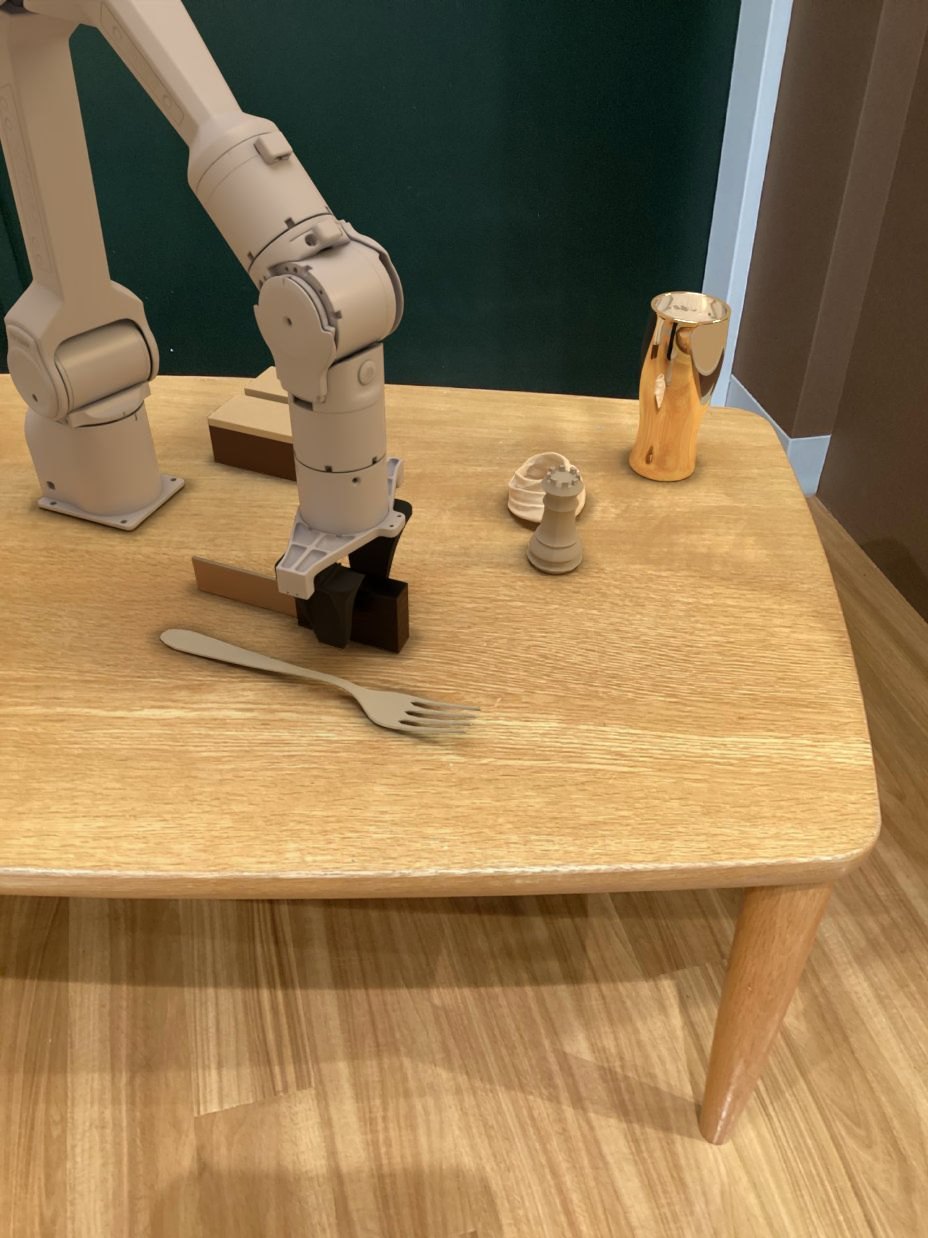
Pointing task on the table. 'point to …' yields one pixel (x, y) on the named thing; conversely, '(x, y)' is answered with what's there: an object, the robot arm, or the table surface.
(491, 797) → the table surface
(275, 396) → the cake slice
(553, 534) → the rook chess piece
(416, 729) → the fork
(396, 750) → the table surface
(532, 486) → the white ruffled curved piece
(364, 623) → the two-tone wooden slat
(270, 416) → the cake
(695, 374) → the copper metal vase
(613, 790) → the table surface
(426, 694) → the table surface
